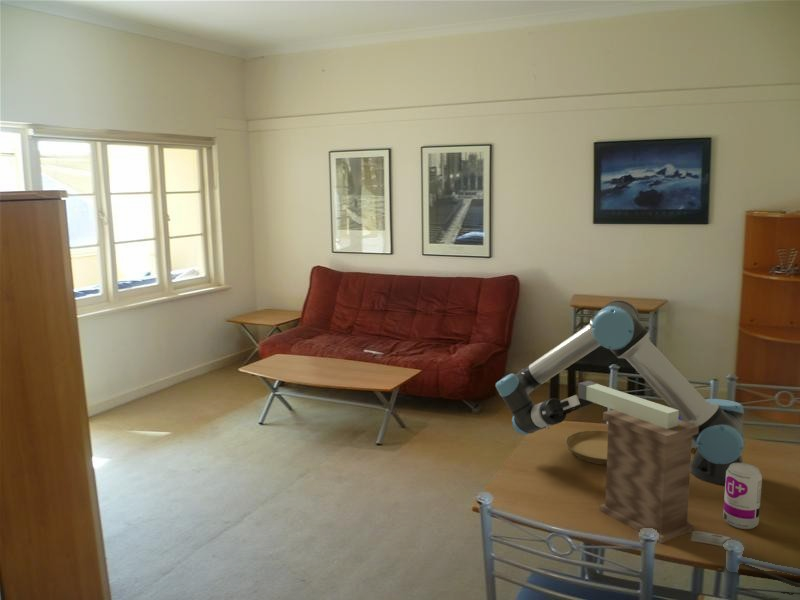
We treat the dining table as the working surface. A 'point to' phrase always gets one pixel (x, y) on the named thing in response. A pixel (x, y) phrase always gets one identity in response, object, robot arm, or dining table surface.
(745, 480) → the supplement can
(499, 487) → the dining table surface
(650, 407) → the bar
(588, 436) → the plant saucer
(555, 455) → the dining table surface
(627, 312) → the robot arm
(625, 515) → the stand
